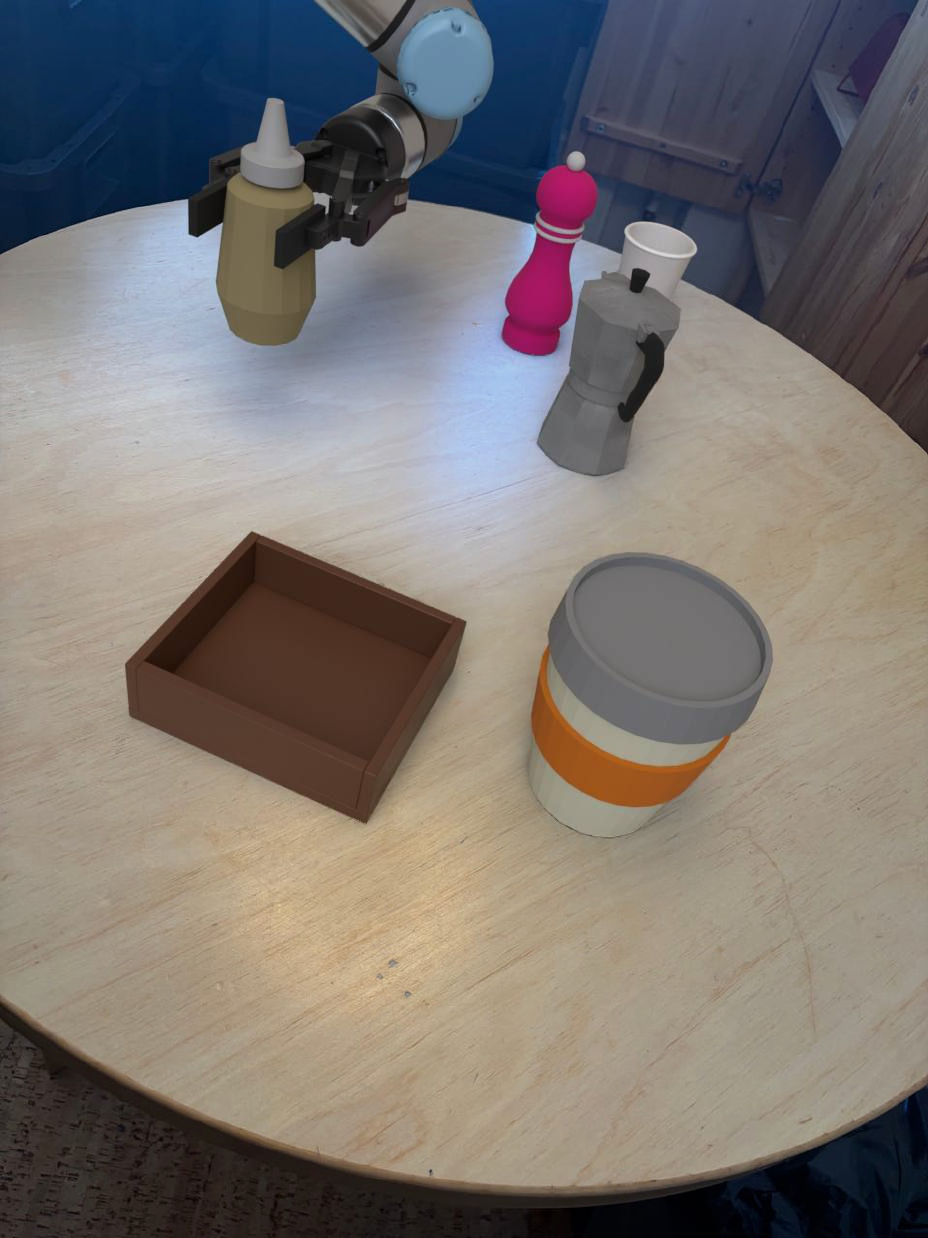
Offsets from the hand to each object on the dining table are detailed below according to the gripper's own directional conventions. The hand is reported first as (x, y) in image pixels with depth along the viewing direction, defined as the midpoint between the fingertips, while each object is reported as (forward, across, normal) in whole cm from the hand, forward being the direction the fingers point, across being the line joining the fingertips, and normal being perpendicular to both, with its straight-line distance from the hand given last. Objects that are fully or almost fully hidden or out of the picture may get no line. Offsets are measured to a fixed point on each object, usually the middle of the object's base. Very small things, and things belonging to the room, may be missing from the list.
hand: (236, 233), depth 70 cm
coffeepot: (-17, -28, -18) cm, 37 cm away
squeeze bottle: (-5, 0, -10) cm, 11 cm away
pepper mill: (-34, -17, -18) cm, 42 cm away
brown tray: (+22, -19, -18) cm, 34 cm away
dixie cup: (-48, -26, -18) cm, 57 cm away
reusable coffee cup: (+19, -39, -18) cm, 47 cm away
